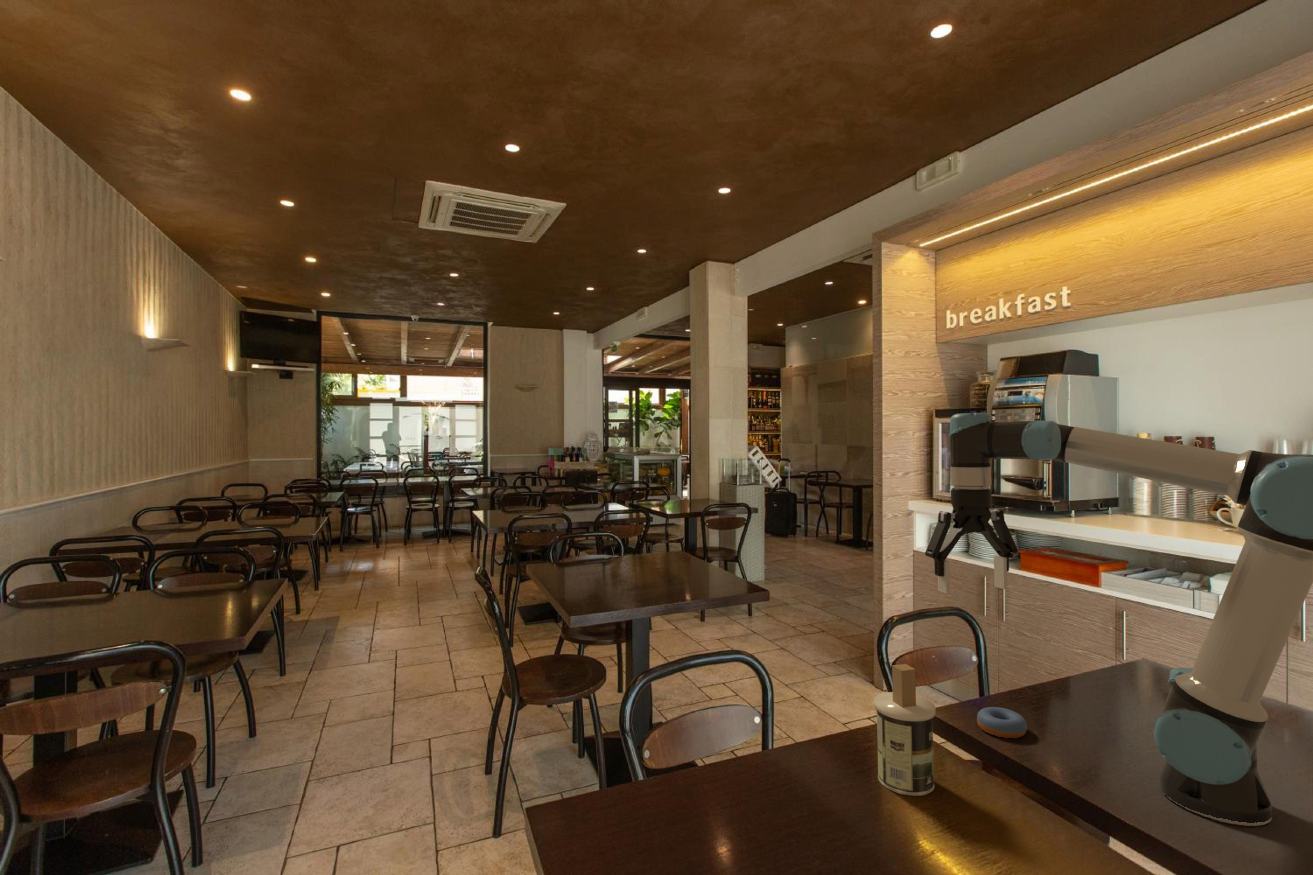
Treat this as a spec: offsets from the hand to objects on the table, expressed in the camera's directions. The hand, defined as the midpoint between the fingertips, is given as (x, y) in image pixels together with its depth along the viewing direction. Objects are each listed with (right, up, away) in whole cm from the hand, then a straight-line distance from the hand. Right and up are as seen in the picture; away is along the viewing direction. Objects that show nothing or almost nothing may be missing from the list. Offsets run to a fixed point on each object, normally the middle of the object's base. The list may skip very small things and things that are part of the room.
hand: (972, 589), depth 129 cm
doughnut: (+13, -35, +12) cm, 39 cm away
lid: (-18, -21, -9) cm, 29 cm away
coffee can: (-17, -35, -9) cm, 40 cm away
